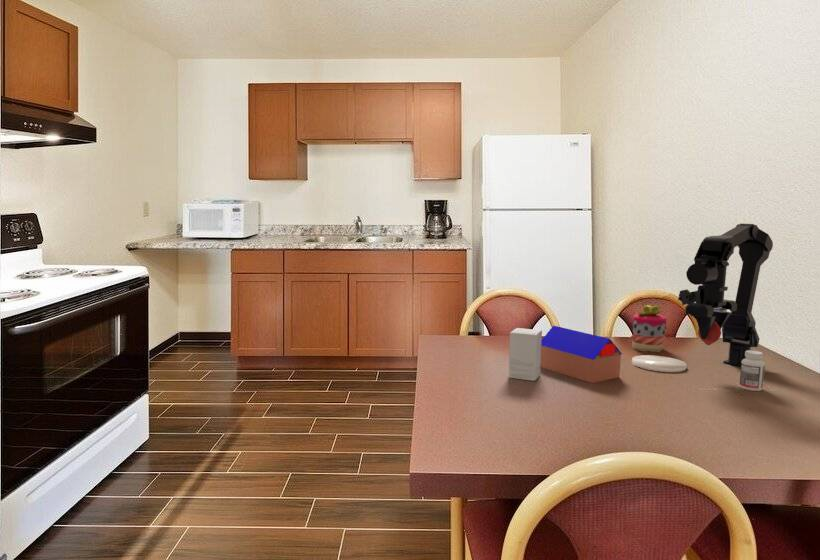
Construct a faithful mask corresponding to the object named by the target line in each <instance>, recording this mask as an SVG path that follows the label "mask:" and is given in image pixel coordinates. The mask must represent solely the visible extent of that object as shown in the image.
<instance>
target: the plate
mask: <svg viewBox="0 0 820 560" xmlns="http://www.w3.org/2000/svg"><path fill="white" fill-rule="evenodd" d="M631 364H632V365H633V366H635V367H637V368H639V367H640V369H643V370H647V371H652V370H653V372H658V371H659V372H660V373H681V372H684V371H686V370H687V365H688V364H687V363H686V362H685V361H683V360H680V359H679V358H678V359H677V358H674V357H669V356H663V355H661V356H660V355H652V354H651V355H648V354H647V355H645V354H644V355H641V354H640V355H635V356H632V358H631ZM659 372H658V373H659Z"/></svg>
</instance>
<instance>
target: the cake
mask: <svg viewBox="0 0 820 560" xmlns="http://www.w3.org/2000/svg"><path fill="white" fill-rule="evenodd" d="M642 310H643V311H639V312H637V313H636V314H634V315H633V317H632V325H631V326H632V327H631V330H632V333H633V334H632V335H630V338H631V340H632V341H631V348H632V349H634V350H636V349H637V350H636V351H640V350H641V351H640V352H646V351H650V352H649V353H658V352H657V351H661V352H663V351H664V344H665V343H666V341H667V338H666V336H665V333H666V331H665V330H666V329H667V326H666V325H667V318H666V317H665V316H664V315H661V314H660V313H661V310H660V309H659V306H658V305H653V306H651V305H644V306H643V308H642ZM662 350H663V351H662Z"/></svg>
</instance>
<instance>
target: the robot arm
mask: <svg viewBox="0 0 820 560" xmlns="http://www.w3.org/2000/svg"><path fill="white" fill-rule="evenodd" d="M773 243H774V242H773V239H772V237H771V236H770V235H769V233H767V232H766V231H764V230H762V229H760V228H759V226H758V225H757V224H754V223H739V224H738V223H737V224H736V226H735V227H733V228H731V229H729V230H728V231H726V232H724V233H722V234H720V235H710V236H705V237H704V238H703V240H702V241H701V242H700V245H699V247H698V249H697V252H696V254H695V256H694V258H693V261H694V263H692V264H691V265H690V266H689V267H688V268H687V270H686V278H687V281H689V283H691V285H696V286H697V290H694V291H689V289H682V290H679V294H678V298H677V300H678V301H680V302H681V305H682V306H685V308H684V314H685V315H687V314H688V315H689V316H690V317H693V318H694V319H695V321H696V323H697V327H698V329H699V331H700V335H701V338H702V339H706V338H707V336H708V333H709V331H710V329H711V326H712V324H713V322H714V321H715V322H716V323H717V324H718V325H719V327H720V329H721V336H722V342H723V343H727V344H729V346H728V355H727V356H728V358H727V359H724V360H723V362H722V363H724V364H728V365H734V366H738V367H741V362H742V360H743V359H745V358H746V357H745V351H747V350H751V349H752V348H758V346H759V343H760V337H759V334H758V332H757V328H756V320H755V318H754V315H753V314H752V311H753V307H754V303H755V302H754V301H755V295H756V291H757V286H758V282H759V281H758V280H759V275H760V271H761V266H762V265H763V264H764V263H765V262H766V261H767V260H768V259H769V257H770V253H771V251H773V246H774V244H773ZM735 248H738V255H739V257H740V259H741V261H742V266H741V269H740V277H739V281H738V285H737V291H736V296H735V300H733V299H730V300H729V299H724V298H725V291H726V292H727V291H728V286H726V280H727V279H726V277H727V269H728V268H727V267H729V266H730V263H729V260H730V258H731V256H732V255H733V254H734V251H735ZM728 310H729V311H728Z"/></svg>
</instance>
